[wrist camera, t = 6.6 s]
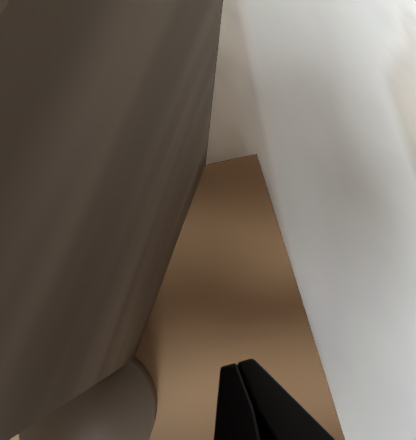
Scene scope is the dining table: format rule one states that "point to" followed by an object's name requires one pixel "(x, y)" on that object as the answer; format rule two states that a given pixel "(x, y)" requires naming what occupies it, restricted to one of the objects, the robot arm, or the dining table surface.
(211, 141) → the dining table surface
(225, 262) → the dial plate
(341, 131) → the dining table surface
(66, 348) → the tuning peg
